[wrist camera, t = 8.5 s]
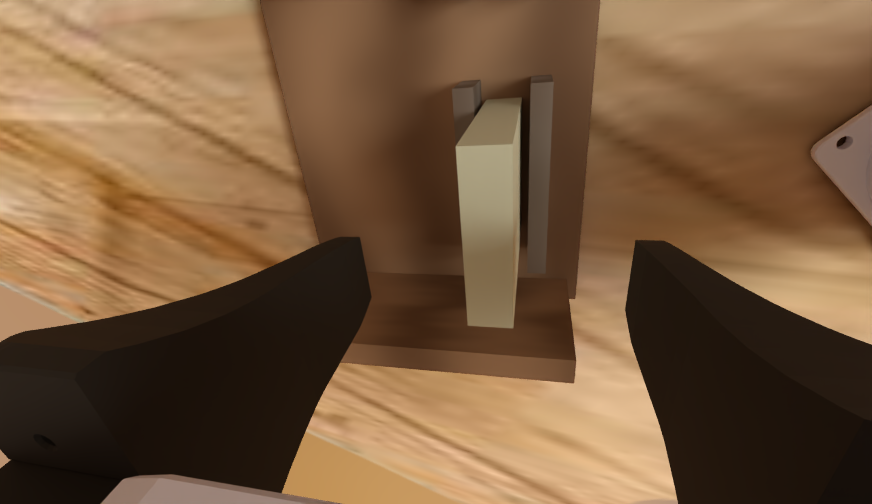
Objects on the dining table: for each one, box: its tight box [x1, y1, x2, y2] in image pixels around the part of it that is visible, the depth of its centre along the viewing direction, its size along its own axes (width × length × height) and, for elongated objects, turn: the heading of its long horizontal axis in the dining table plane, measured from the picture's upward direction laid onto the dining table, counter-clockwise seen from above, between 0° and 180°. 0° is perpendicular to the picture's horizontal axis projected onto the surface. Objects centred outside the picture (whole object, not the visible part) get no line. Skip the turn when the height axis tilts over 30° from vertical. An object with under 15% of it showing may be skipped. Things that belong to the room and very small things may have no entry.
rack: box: [260, 0, 600, 383], centre depth 15 cm, size 14×26×7 cm, turn 5°
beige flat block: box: [456, 97, 522, 328], centre depth 16 cm, size 2×6×8 cm, turn 5°
